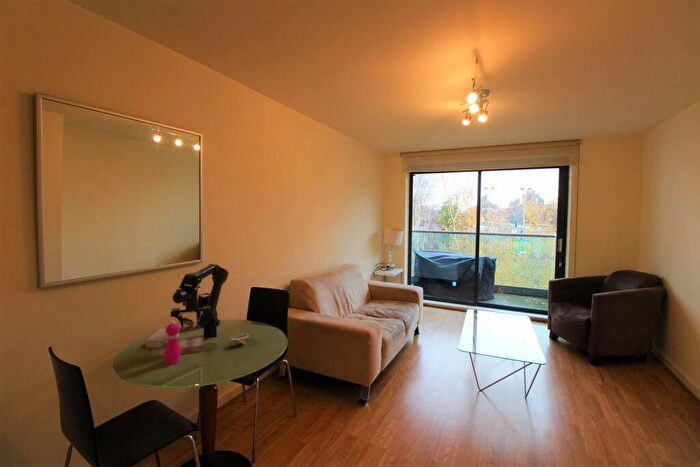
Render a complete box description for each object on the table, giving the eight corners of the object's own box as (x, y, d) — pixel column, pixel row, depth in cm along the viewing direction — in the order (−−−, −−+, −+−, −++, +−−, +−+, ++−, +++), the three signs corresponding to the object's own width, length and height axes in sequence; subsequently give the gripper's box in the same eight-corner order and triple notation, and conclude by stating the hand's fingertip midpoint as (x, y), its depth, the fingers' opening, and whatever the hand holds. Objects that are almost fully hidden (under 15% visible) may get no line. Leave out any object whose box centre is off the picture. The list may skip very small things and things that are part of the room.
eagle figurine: (198, 324, 174) (179, 322, 170) (200, 315, 171) (181, 313, 167) (196, 336, 168) (177, 334, 164) (198, 327, 165) (179, 325, 161)
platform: (260, 344, 178) (261, 333, 178) (229, 353, 166) (229, 341, 165) (250, 337, 187) (250, 326, 186) (219, 346, 174) (219, 334, 174)
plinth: (203, 341, 177) (203, 336, 177) (203, 350, 166) (203, 345, 166) (178, 344, 172) (178, 339, 172) (177, 354, 161) (177, 348, 161)
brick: (161, 348, 167) (161, 339, 167) (144, 348, 166) (144, 339, 166) (175, 335, 184) (176, 327, 183) (160, 335, 183) (160, 327, 183)
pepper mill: (169, 366, 149) (169, 324, 147) (160, 361, 153) (161, 321, 151) (184, 360, 155) (184, 320, 154) (175, 356, 159) (176, 317, 157)
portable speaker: (213, 326, 200) (214, 295, 198) (197, 328, 195) (197, 297, 193) (211, 321, 207) (212, 292, 205) (195, 323, 202) (196, 293, 200)
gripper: (210, 292, 178) (210, 319, 180) (172, 295, 170) (172, 323, 172) (211, 298, 168) (210, 327, 170) (170, 301, 160) (170, 331, 162)
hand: (191, 326), depth 168 cm, fingers closed on eagle figurine, 7 cm apart
